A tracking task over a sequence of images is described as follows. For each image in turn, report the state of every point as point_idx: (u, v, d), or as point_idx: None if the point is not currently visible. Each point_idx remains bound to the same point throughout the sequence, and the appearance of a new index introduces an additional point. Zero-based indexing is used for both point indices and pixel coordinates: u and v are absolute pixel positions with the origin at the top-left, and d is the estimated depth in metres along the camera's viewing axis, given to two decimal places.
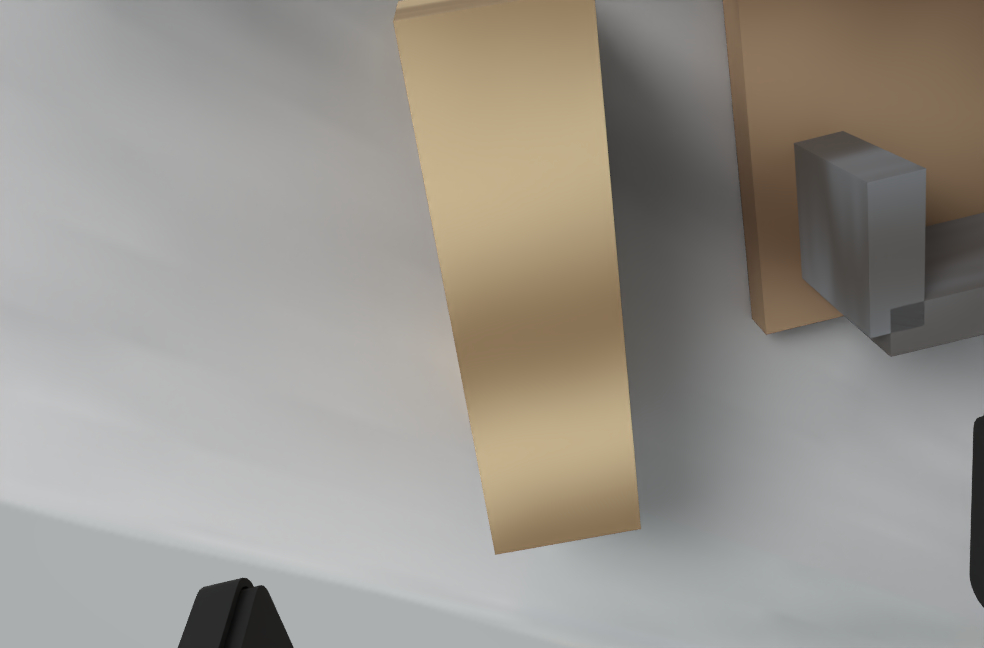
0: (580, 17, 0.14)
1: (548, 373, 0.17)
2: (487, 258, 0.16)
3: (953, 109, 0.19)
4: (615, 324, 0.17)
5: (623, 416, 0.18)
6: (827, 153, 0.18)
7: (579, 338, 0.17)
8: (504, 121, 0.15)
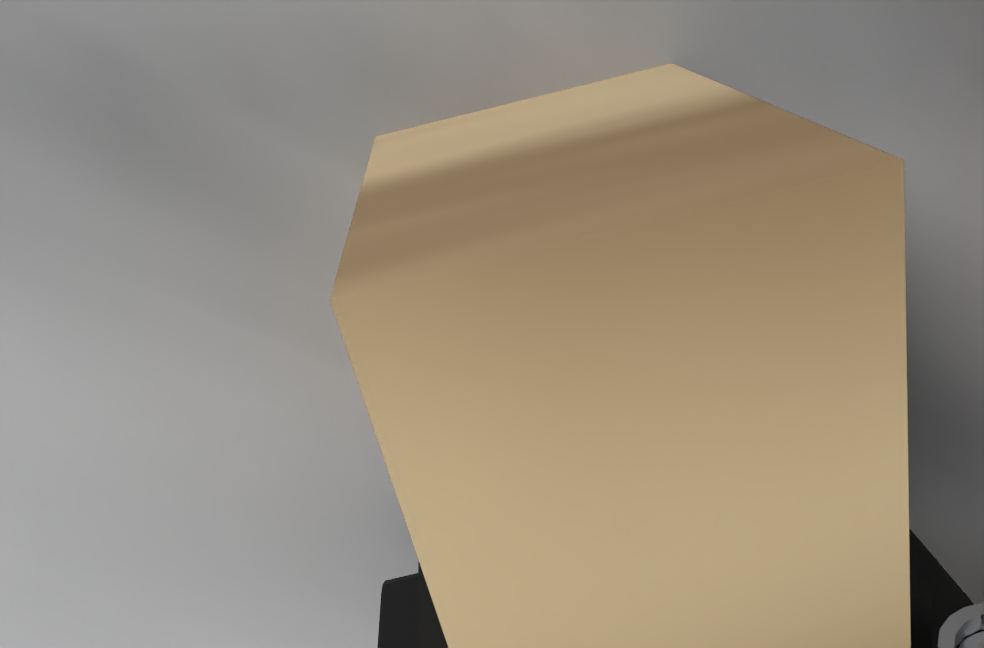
0: (859, 240, 0.05)
1: None
2: None
3: None
4: None
5: None
6: None
7: None
8: (645, 500, 0.06)
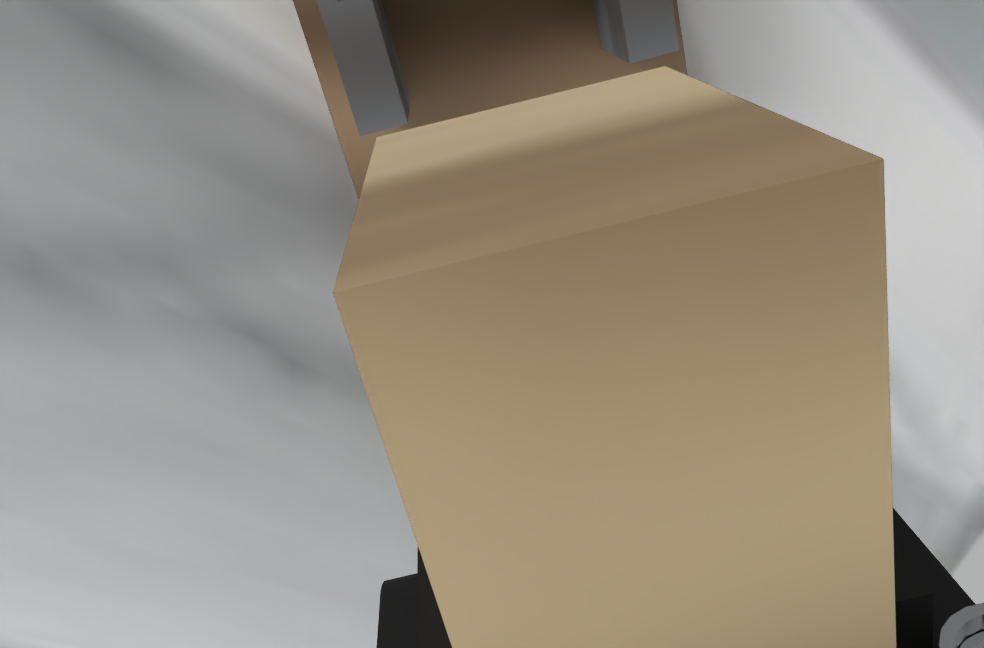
0: (842, 235, 0.05)
1: None
2: None
3: None
4: None
5: None
6: None
7: None
8: (637, 487, 0.06)
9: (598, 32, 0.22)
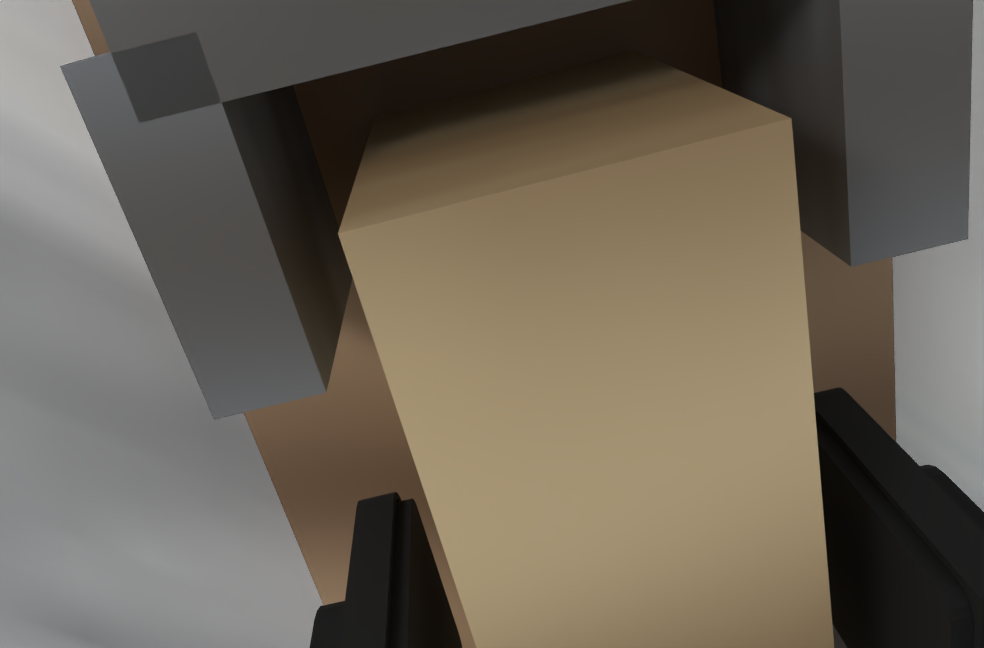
0: (760, 183, 0.06)
1: None
2: (574, 640, 0.08)
3: None
4: None
5: None
6: None
7: None
8: (596, 403, 0.07)
9: None
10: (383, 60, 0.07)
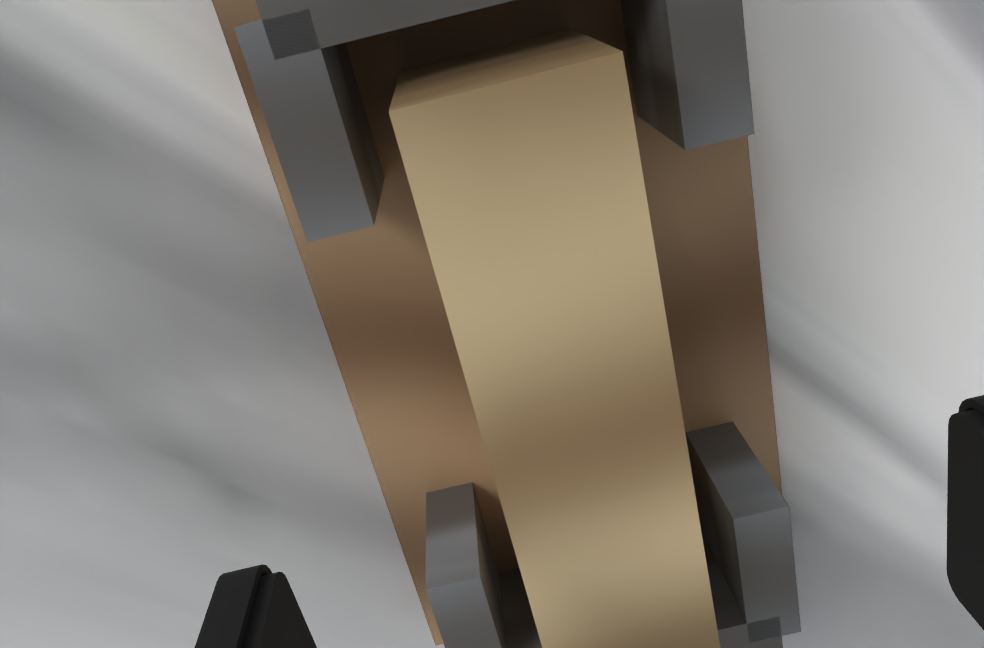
0: (609, 86, 0.12)
1: (600, 488, 0.15)
2: (519, 367, 0.14)
3: None
4: (675, 428, 0.14)
5: (691, 529, 0.15)
6: (435, 522, 0.19)
7: (633, 447, 0.14)
8: (527, 212, 0.13)
9: (634, 94, 0.17)
10: (410, 25, 0.13)
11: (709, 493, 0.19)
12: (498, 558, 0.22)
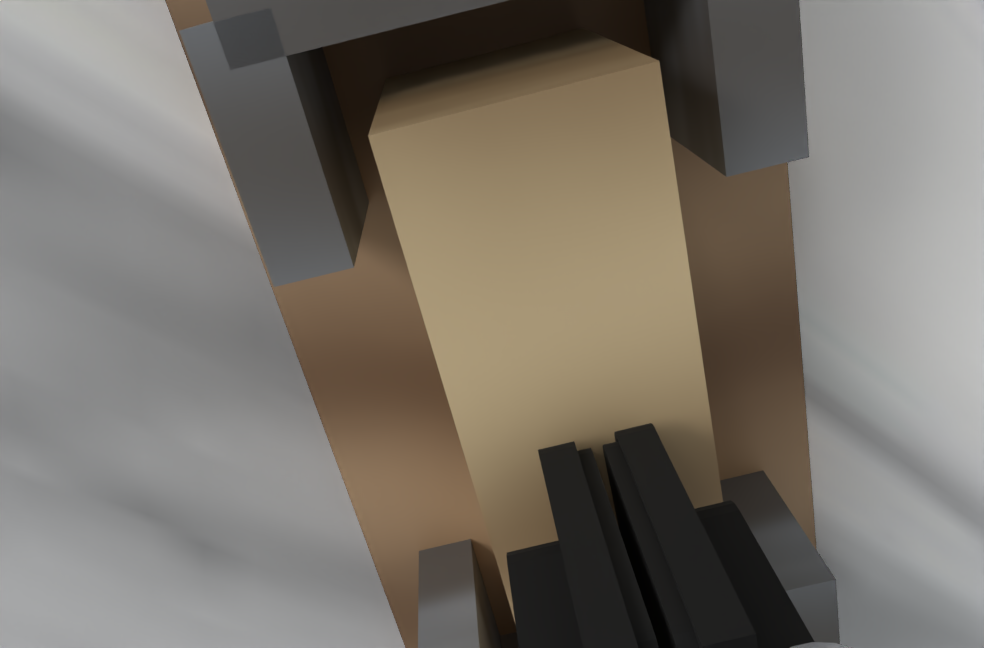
0: (642, 104, 0.10)
1: None
2: (529, 438, 0.11)
3: None
4: None
5: None
6: (429, 588, 0.17)
7: None
8: (539, 257, 0.10)
9: None
10: (396, 27, 0.11)
11: None
12: (500, 621, 0.19)
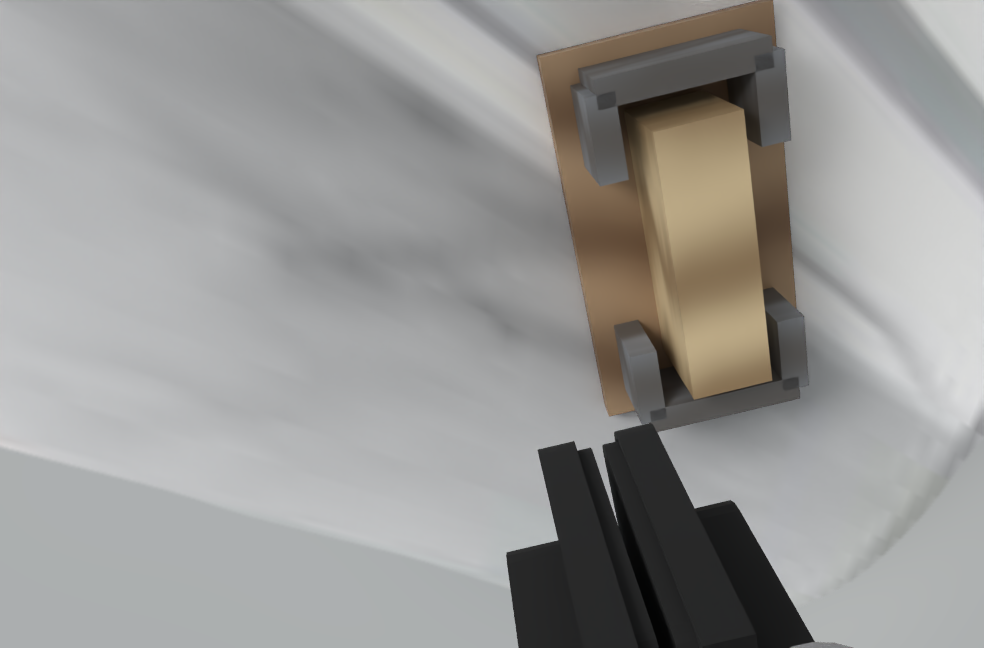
0: (737, 122, 0.31)
1: (722, 295, 0.34)
2: (693, 238, 0.33)
3: None
4: (756, 267, 0.33)
5: (761, 316, 0.34)
6: (624, 335, 0.38)
7: (738, 276, 0.33)
8: (702, 172, 0.32)
9: None
10: (653, 96, 0.32)
11: None
12: None
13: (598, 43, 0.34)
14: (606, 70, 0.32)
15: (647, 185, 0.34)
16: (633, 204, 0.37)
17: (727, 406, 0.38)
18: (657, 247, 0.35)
